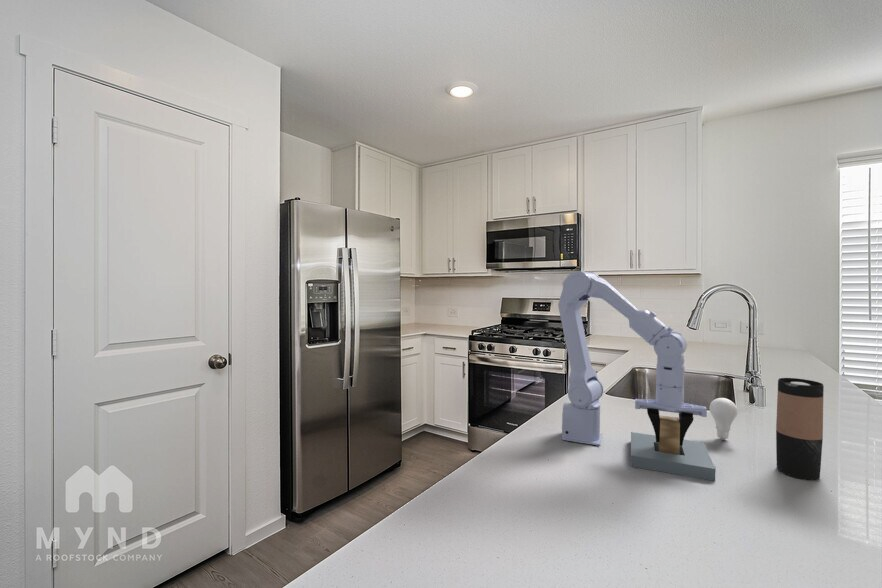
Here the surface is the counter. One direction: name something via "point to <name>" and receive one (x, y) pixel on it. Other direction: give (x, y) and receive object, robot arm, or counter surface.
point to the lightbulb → (723, 415)
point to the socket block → (672, 457)
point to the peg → (669, 435)
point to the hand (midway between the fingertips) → (668, 442)
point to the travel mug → (799, 428)
